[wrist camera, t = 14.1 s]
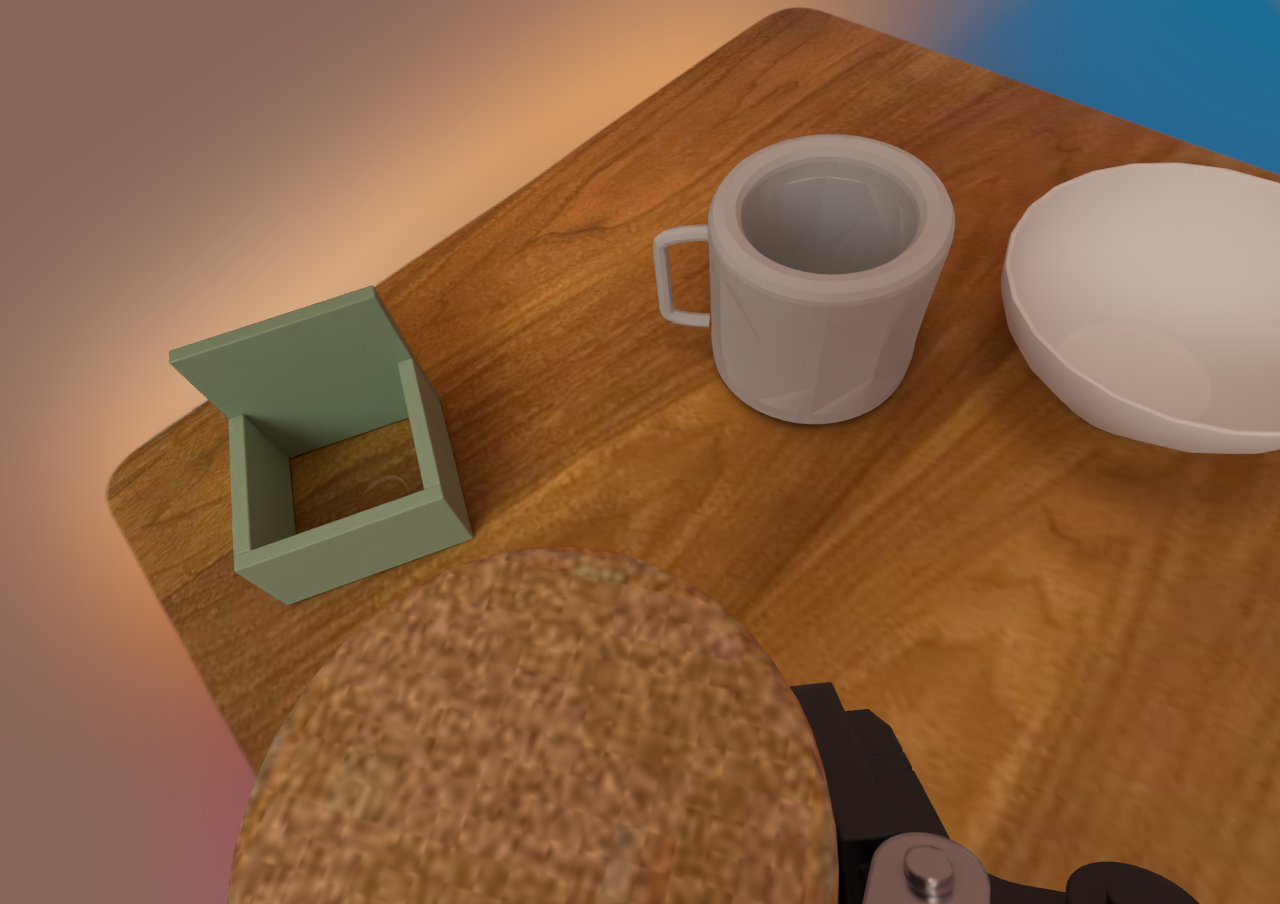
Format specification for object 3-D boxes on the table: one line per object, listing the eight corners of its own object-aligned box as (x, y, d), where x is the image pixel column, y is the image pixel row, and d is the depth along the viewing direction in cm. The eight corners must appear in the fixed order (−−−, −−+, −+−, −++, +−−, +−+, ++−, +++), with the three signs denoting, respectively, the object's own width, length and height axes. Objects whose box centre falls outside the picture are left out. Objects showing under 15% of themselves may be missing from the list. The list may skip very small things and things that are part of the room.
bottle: (635, 709, 20) (478, 399, 8) (825, 836, 18) (1046, 701, 6) (507, 913, 18) (-16, 953, 5) (708, 1086, 16) (624, 1837, 3)
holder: (287, 606, 35) (164, 527, 28) (274, 452, 40) (168, 350, 33) (473, 538, 36) (405, 444, 28) (439, 396, 41) (372, 284, 33)
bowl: (1151, 583, 31) (1249, 511, 25) (898, 352, 39) (928, 256, 33) (1387, 409, 34) (1524, 309, 29) (1109, 227, 42) (1171, 119, 36)
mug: (903, 279, 42) (947, 125, 33) (916, 434, 36) (973, 297, 28) (673, 276, 44) (659, 130, 36) (653, 422, 39) (631, 291, 30)
